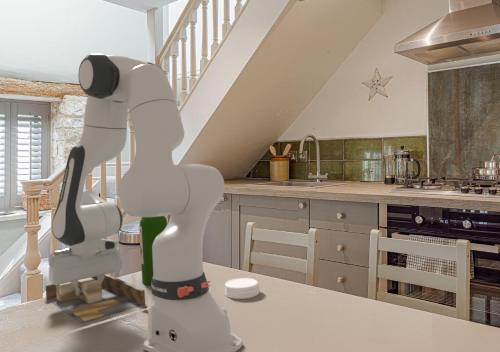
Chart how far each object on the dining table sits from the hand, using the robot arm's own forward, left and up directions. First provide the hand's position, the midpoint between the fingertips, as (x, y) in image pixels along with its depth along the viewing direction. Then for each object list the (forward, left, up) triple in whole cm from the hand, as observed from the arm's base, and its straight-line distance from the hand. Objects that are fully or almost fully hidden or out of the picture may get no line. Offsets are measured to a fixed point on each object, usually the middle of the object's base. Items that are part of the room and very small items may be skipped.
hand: (88, 292), depth 125 cm
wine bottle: (-1, -22, -2) cm, 22 cm away
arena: (-4, 0, -2) cm, 5 cm away
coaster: (-30, -34, -3) cm, 45 cm away
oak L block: (+1, +2, -1) cm, 3 cm away
